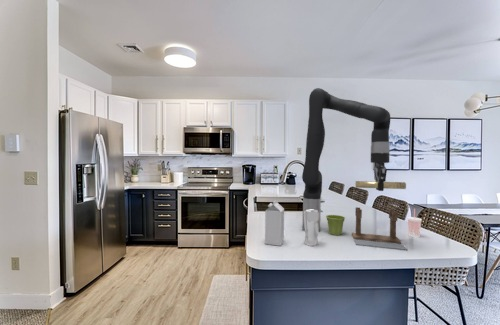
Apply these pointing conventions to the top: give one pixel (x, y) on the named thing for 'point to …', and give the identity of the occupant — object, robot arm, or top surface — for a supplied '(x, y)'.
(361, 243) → the slate mat
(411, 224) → the beverage cup
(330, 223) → the plant pot
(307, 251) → the top surface
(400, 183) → the brass rail
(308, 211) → the beer glass
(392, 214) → the hook stand
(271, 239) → the milk carton
